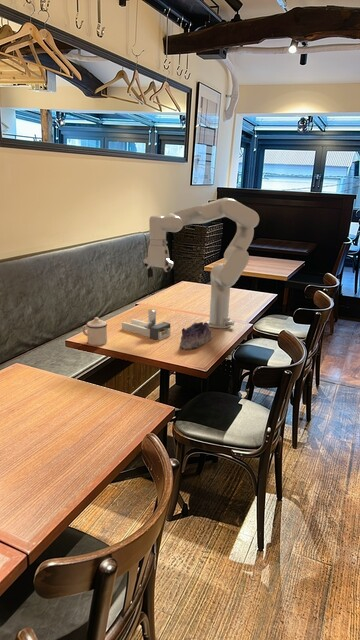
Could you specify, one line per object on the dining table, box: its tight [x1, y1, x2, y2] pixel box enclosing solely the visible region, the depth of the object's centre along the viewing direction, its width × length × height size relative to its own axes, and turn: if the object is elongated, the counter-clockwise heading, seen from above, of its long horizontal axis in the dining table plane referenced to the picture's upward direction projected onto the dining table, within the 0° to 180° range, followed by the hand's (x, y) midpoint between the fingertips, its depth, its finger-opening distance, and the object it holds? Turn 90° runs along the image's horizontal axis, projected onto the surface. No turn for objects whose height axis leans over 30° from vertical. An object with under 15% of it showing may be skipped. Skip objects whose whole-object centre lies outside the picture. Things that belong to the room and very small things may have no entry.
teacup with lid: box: [81, 316, 108, 346], centre depth 203 cm, size 12×9×12 cm
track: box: [121, 318, 171, 341], centre depth 218 cm, size 24×10×6 cm, turn 54°
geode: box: [179, 321, 213, 351], centre depth 205 cm, size 20×12×10 cm, turn 153°
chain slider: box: [144, 308, 165, 333], centre depth 214 cm, size 10×5×10 cm, turn 54°
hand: (158, 278), depth 218 cm, fingers open, 9 cm apart
